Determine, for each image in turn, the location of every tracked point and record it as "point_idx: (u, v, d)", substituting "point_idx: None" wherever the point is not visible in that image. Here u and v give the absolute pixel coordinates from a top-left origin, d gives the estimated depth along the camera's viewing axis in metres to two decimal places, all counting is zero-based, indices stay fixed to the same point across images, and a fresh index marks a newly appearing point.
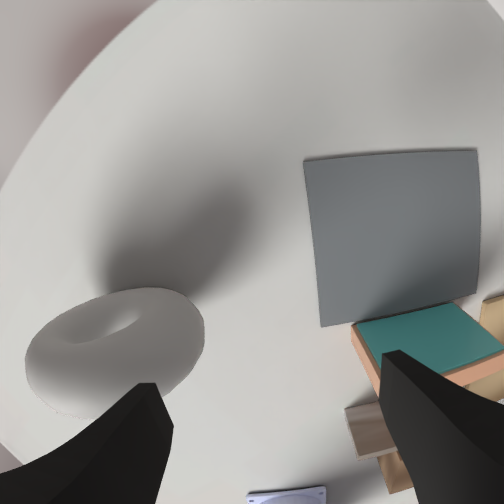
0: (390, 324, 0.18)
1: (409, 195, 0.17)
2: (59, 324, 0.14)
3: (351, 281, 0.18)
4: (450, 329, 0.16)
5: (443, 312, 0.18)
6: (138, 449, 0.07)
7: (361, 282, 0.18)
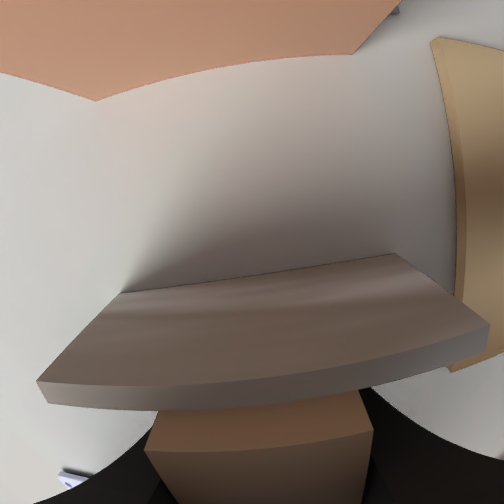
0: None
1: None
2: None
3: None
4: None
5: None
6: None
7: None
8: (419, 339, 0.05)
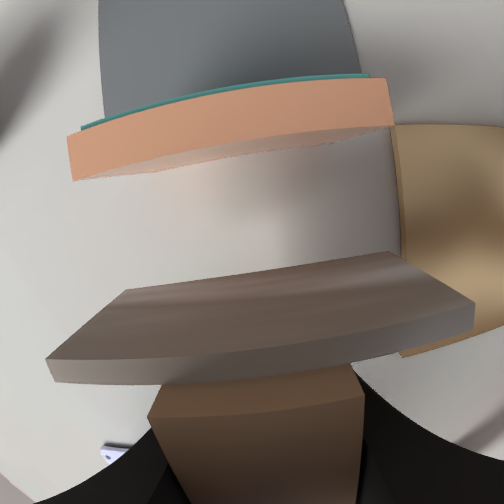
0: None
1: None
2: None
3: (141, 82, 0.12)
4: None
5: None
6: None
7: (155, 82, 0.12)
8: (407, 315, 0.05)
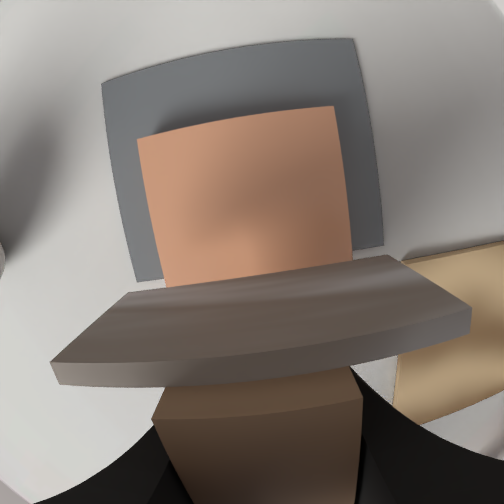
0: None
1: (235, 100, 0.13)
2: None
3: None
4: None
5: None
6: None
7: None
8: (404, 320, 0.05)
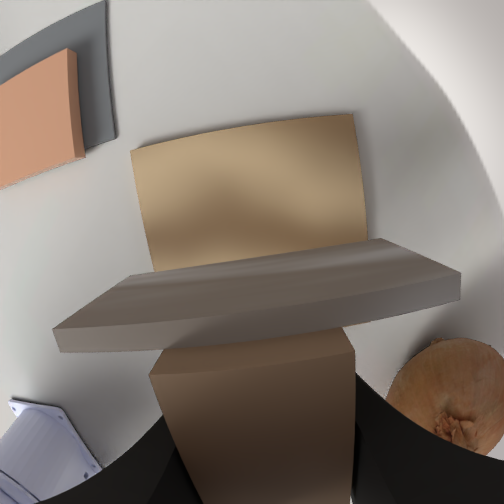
0: None
1: (33, 63, 0.14)
2: None
3: None
4: None
5: None
6: None
7: None
8: (394, 283, 0.06)
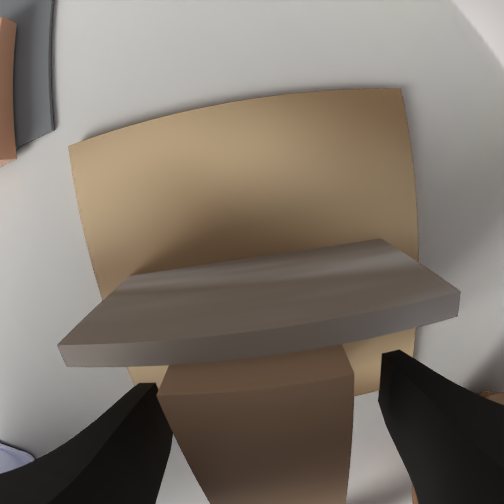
0: None
1: None
2: None
3: None
4: None
5: None
6: (139, 449, 0.07)
7: None
8: (395, 301, 0.06)
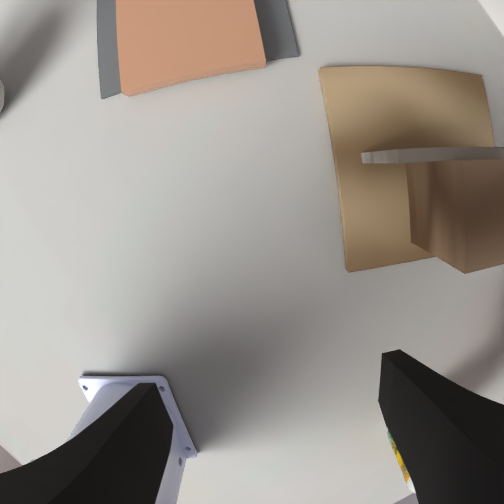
0: None
1: None
2: None
3: None
4: None
5: None
6: (138, 449, 0.07)
7: None
8: None
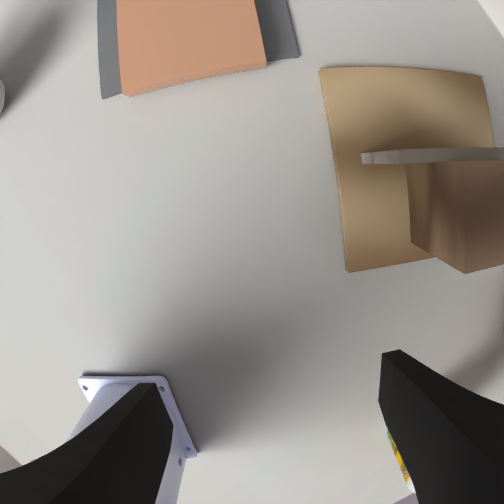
0: None
1: None
2: None
3: None
4: None
5: None
6: (139, 449, 0.07)
7: None
8: None
